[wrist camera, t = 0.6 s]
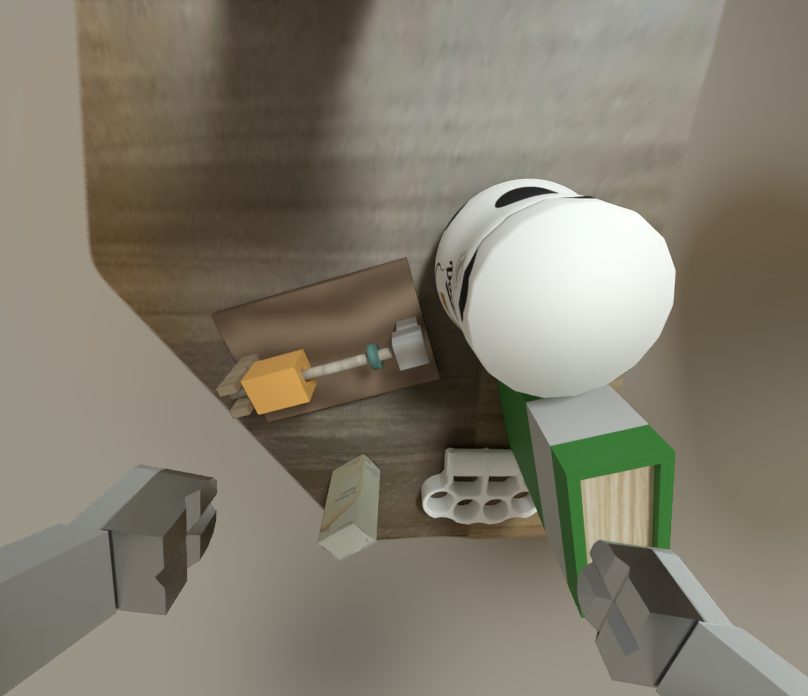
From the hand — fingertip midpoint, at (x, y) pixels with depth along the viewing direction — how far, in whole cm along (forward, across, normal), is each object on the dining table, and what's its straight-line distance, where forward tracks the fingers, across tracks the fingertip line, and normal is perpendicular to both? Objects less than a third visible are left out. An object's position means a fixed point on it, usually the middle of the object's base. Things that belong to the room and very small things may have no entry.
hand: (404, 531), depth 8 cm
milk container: (+39, -11, -4) cm, 40 cm away
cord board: (+39, +8, +10) cm, 41 cm away
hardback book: (+41, -18, +12) cm, 47 cm away
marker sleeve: (+34, +12, +13) cm, 39 cm away
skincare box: (+42, +2, +31) cm, 52 cm away
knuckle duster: (+43, -17, +30) cm, 55 cm away
